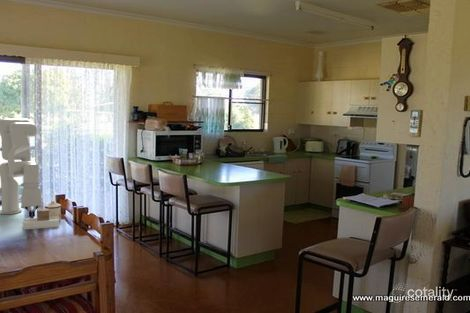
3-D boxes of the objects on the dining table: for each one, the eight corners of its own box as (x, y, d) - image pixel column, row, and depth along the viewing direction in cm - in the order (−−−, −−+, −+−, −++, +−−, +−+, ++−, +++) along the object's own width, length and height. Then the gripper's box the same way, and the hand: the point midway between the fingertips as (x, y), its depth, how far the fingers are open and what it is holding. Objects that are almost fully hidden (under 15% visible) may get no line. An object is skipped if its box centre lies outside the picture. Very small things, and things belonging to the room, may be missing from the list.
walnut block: (37, 223, 238) (37, 209, 237) (49, 222, 240) (48, 208, 240) (37, 225, 233) (37, 211, 233) (49, 224, 236) (48, 210, 235)
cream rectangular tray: (23, 225, 237) (23, 218, 236) (58, 223, 244) (58, 216, 244) (22, 229, 229) (22, 222, 229) (58, 226, 237) (58, 219, 236)
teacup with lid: (63, 221, 249) (62, 201, 247) (46, 223, 243) (46, 203, 242) (58, 216, 258) (58, 197, 257) (42, 218, 253) (41, 199, 252)
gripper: (15, 187, 226) (16, 220, 228) (46, 186, 232) (46, 218, 234) (16, 184, 233) (17, 217, 235) (46, 183, 239) (46, 215, 241)
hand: (32, 217), depth 234 cm, fingers closed
